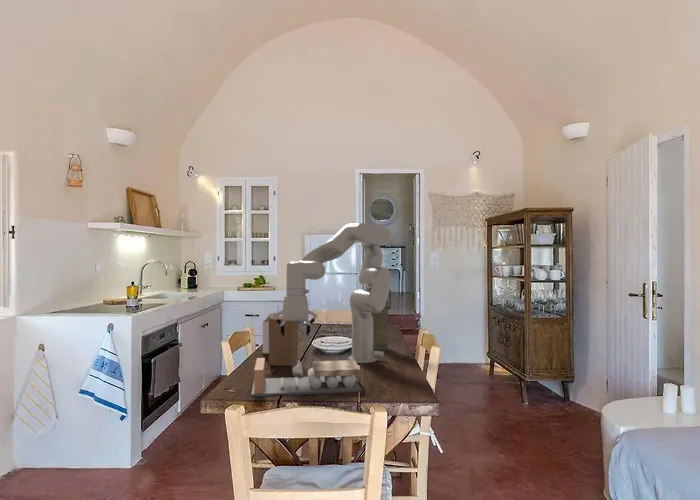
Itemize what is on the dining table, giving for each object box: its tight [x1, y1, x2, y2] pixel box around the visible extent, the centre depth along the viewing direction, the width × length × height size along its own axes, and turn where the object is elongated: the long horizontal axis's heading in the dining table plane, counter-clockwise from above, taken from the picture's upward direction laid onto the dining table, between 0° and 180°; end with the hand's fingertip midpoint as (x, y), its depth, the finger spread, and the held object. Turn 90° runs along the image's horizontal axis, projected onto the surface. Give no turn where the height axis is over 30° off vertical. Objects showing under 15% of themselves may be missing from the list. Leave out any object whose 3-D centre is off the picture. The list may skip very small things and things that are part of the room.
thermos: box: [367, 287, 392, 352], centre depth 238 cm, size 9×12×35 cm
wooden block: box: [268, 315, 299, 367], centre depth 209 cm, size 10×10×20 cm
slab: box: [312, 359, 361, 377], centre depth 176 cm, size 16×14×2 cm
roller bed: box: [250, 357, 363, 397], centre depth 175 cm, size 38×19×9 cm, turn 98°
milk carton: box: [262, 312, 277, 355], centre depth 230 cm, size 7×7×19 cm
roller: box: [291, 359, 304, 377], centre depth 192 cm, size 4×14×4 cm, turn 8°
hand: (295, 335), depth 192 cm, fingers open, 9 cm apart
